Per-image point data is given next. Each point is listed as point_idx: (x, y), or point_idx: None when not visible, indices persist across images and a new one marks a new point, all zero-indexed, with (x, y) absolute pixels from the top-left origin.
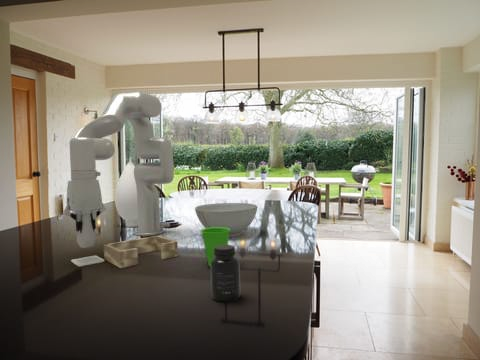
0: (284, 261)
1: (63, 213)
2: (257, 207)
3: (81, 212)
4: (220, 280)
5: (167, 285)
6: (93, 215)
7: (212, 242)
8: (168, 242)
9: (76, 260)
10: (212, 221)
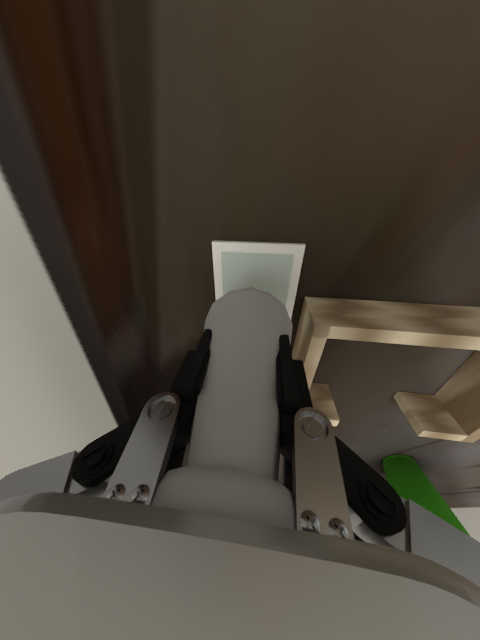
0: (463, 495)
1: (5, 485)
2: None
3: None
4: None
5: (282, 458)
6: (289, 486)
7: None
8: (448, 435)
9: (223, 270)
10: None
